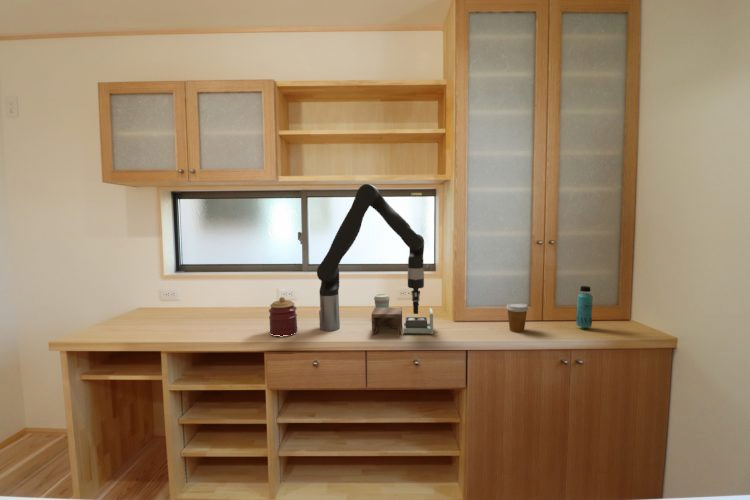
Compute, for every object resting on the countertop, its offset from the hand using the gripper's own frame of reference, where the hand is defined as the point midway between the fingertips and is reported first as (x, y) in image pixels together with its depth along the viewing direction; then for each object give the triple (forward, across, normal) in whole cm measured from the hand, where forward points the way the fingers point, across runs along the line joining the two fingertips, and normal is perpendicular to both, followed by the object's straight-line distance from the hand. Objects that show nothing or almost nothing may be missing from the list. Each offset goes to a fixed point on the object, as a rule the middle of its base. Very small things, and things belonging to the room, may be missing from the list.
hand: (415, 311), depth 177 cm
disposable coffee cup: (+9, -3, +47) cm, 48 cm away
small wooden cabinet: (+10, 0, -13) cm, 16 cm away
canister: (+11, +4, -63) cm, 64 cm away
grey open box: (+8, 0, 0) cm, 8 cm away
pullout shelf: (+9, 0, +1) cm, 9 cm away
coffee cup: (+10, -24, -18) cm, 32 cm away
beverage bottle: (+9, -6, +78) cm, 79 cm away
